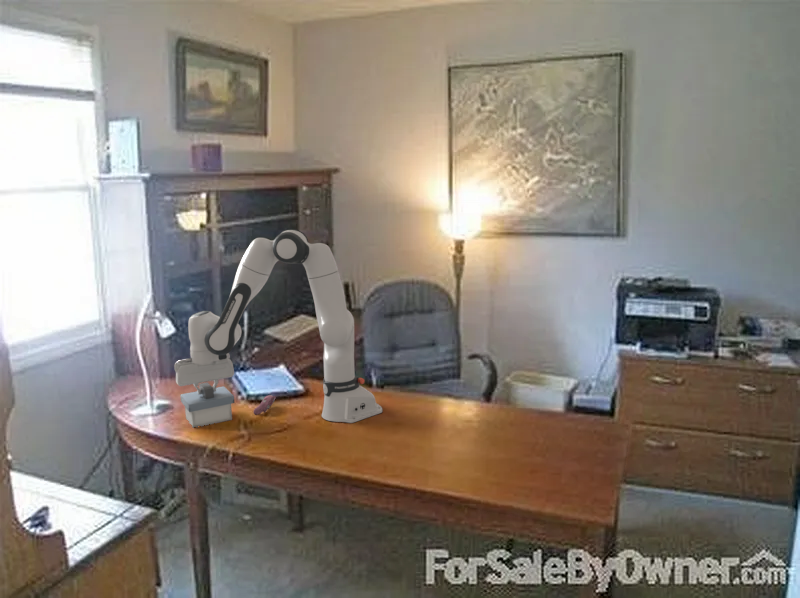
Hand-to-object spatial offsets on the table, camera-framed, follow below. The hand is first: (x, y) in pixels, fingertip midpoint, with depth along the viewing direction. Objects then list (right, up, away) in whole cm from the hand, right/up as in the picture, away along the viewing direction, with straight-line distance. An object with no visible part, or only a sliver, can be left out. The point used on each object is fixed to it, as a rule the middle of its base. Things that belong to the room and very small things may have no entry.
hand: (206, 392), depth 232 cm
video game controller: (+19, -8, +9) cm, 23 cm away
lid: (0, -3, +1) cm, 4 cm away
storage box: (0, -10, +2) cm, 10 cm away
